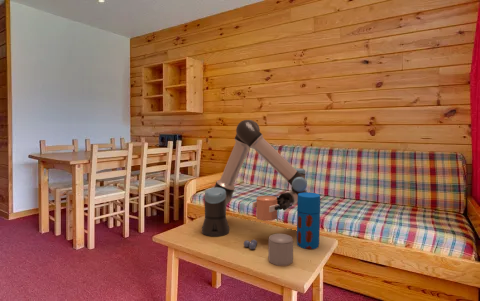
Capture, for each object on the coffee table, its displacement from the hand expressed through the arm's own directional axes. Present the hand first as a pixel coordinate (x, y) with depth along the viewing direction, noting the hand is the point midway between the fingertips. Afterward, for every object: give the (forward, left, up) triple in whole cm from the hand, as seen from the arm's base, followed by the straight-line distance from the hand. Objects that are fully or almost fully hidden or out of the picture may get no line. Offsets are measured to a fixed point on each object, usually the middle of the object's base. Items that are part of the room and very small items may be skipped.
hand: (261, 207), depth 143 cm
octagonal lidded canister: (0, +4, -6) cm, 7 cm away
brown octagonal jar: (+17, -8, -18) cm, 26 cm away
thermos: (+17, +15, -19) cm, 30 cm away
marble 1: (-2, -8, -18) cm, 20 cm away
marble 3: (+1, -8, -18) cm, 20 cm away
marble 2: (-1, -5, -18) cm, 19 cm away
